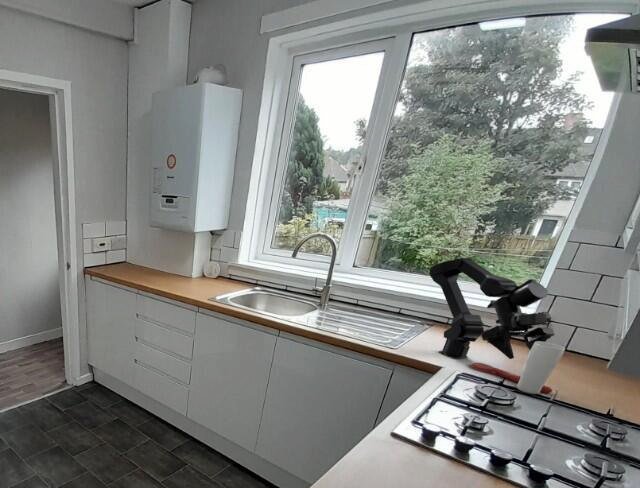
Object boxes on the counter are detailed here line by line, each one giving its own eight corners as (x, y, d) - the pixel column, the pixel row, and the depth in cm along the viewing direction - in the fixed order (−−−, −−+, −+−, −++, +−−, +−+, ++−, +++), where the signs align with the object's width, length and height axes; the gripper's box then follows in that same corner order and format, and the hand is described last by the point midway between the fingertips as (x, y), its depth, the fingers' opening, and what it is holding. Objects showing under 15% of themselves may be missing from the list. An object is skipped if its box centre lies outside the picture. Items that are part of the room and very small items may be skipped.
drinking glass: (524, 385, 128) (546, 341, 122) (548, 395, 122) (572, 349, 116) (506, 386, 127) (528, 341, 121) (529, 396, 121) (553, 349, 115)
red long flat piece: (466, 366, 142) (469, 360, 141) (479, 365, 143) (481, 359, 143) (543, 395, 122) (546, 389, 121) (556, 393, 124) (559, 387, 123)
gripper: (505, 300, 123) (522, 347, 117) (563, 302, 124) (583, 349, 118) (473, 317, 133) (488, 361, 128) (527, 319, 134) (544, 363, 129)
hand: (526, 359), depth 125 cm, fingers open, 9 cm apart
